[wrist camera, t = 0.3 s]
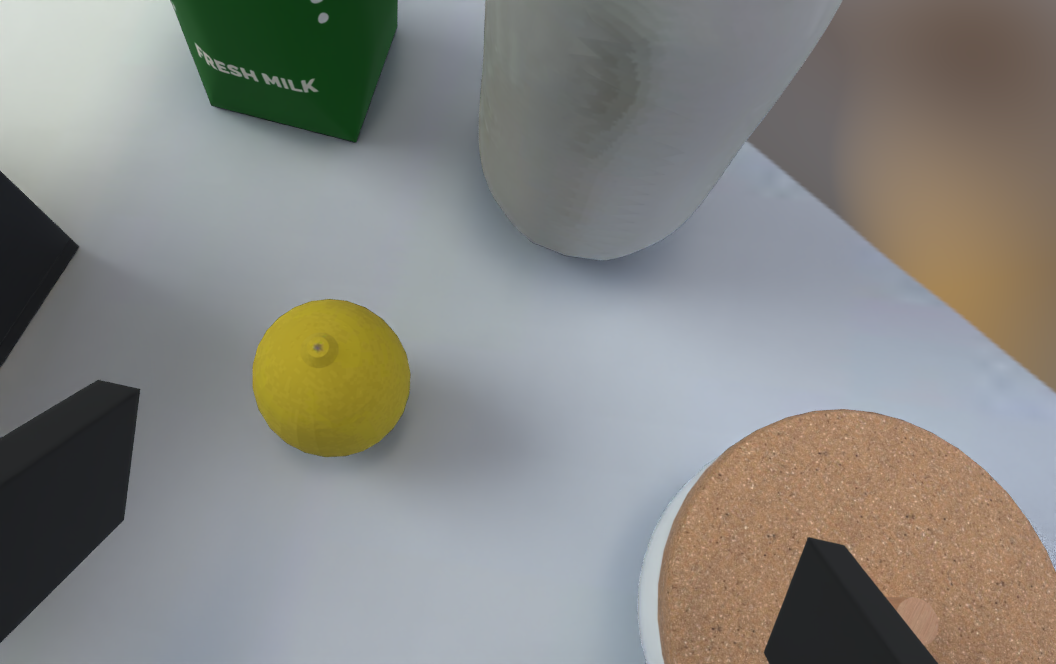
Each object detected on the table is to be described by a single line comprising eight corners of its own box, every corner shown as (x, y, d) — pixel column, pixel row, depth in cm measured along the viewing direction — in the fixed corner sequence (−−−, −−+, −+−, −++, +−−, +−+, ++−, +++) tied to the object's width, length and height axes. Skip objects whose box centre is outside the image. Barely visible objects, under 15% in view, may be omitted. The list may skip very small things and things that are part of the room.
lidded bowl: (949, 574, 32) (1196, 567, 21) (813, 864, 28) (1039, 1028, 17) (703, 398, 33) (824, 311, 23) (539, 650, 29) (595, 684, 19)
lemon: (252, 438, 30) (192, 389, 23) (317, 321, 32) (281, 240, 25) (377, 493, 30) (358, 461, 23) (435, 372, 32) (434, 306, 25)
